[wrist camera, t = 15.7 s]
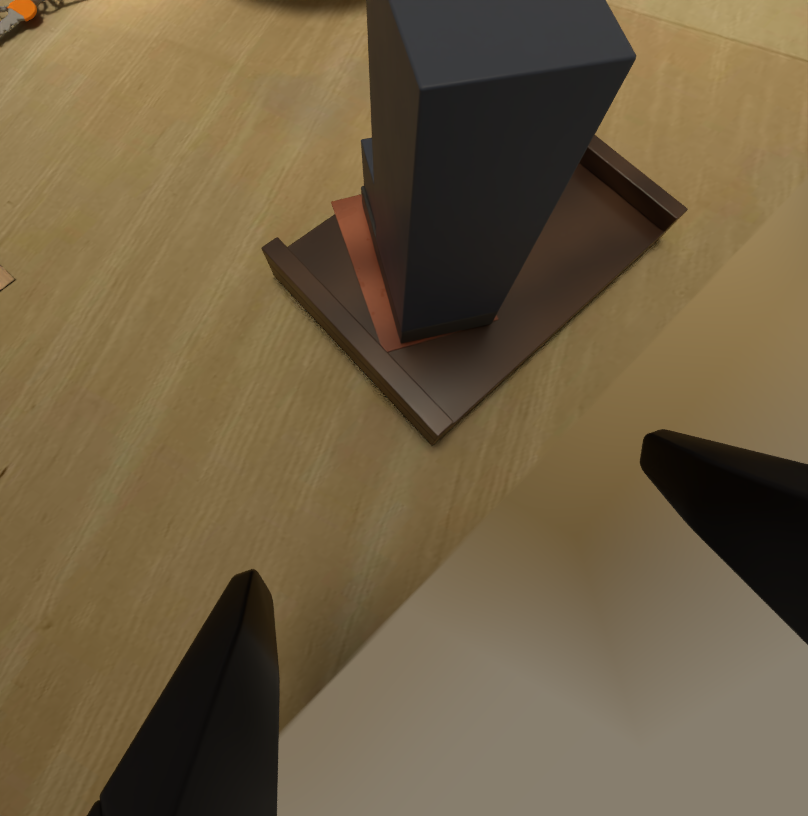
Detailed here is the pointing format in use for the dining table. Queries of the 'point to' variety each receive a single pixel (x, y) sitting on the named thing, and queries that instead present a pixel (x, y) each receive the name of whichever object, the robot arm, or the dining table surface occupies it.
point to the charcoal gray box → (476, 142)
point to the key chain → (18, 13)
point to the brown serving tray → (517, 317)
